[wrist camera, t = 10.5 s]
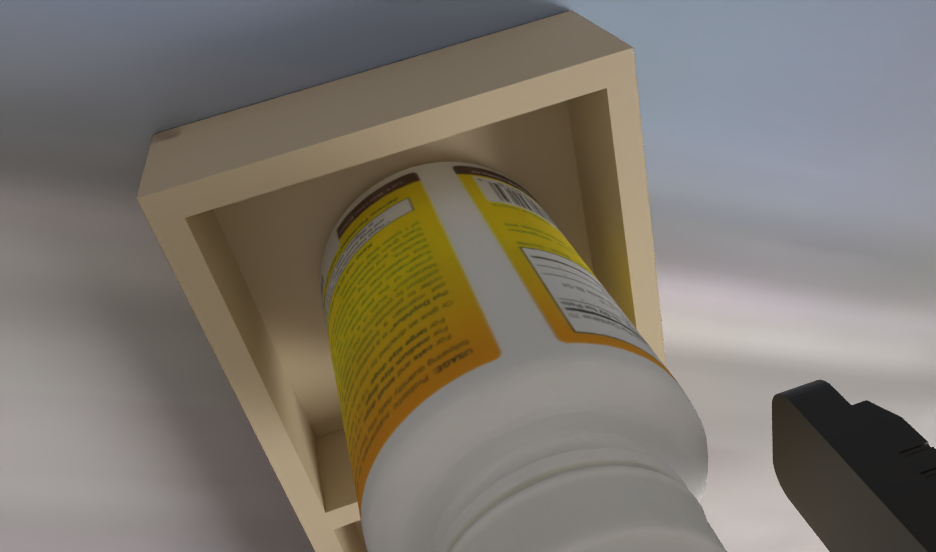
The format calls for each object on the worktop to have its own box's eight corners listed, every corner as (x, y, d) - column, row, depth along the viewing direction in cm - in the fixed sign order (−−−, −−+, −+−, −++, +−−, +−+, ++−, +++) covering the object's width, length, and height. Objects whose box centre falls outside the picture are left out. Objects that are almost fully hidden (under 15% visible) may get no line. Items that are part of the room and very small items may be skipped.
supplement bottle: (323, 370, 19) (389, 810, 11) (310, 158, 17) (384, 525, 8) (538, 346, 21) (748, 723, 12) (559, 145, 18) (850, 451, 9)
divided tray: (571, 10, 17) (633, 47, 14) (645, 534, 27) (691, 614, 24) (153, 134, 16) (136, 198, 14) (385, 629, 26) (402, 723, 23)
